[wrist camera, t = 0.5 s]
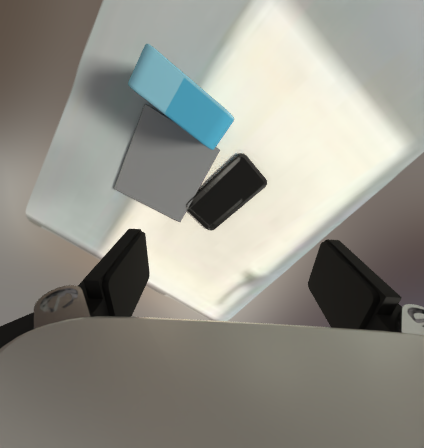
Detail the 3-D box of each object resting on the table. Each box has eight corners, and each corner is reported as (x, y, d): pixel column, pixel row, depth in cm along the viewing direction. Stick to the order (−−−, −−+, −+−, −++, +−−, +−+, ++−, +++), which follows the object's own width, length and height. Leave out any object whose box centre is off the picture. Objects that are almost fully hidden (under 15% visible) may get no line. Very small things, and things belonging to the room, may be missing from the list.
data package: (154, 98, 32) (122, 81, 21) (168, 70, 31) (141, 36, 20) (213, 145, 35) (212, 152, 24) (229, 122, 33) (236, 117, 23)
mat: (146, 104, 33) (144, 104, 32) (220, 149, 35) (220, 150, 35) (115, 187, 39) (114, 188, 38) (180, 221, 41) (180, 222, 41)
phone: (183, 206, 39) (242, 150, 35) (184, 204, 40) (241, 150, 36) (210, 232, 41) (269, 183, 37) (211, 230, 42) (268, 182, 38)
